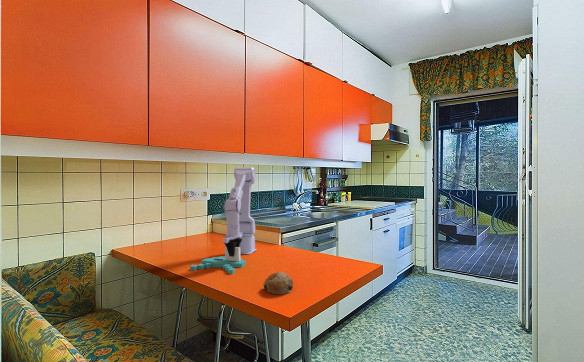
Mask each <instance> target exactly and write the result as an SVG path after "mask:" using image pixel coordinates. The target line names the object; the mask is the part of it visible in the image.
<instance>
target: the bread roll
mask: <svg viewBox="0 0 584 362" xmlns="http://www.w3.org/2000/svg"><path fill="white" fill-rule="evenodd" d="M262 286H263V288H264V290H265V291H266V293H269V294H272V295H285V294H290V293H291V291H292V289H293V288H294V281H293V279H292V277H291V276H290V275H289V274H287V273H286V272H282V271H280V272H279V271H277V272H274V273H271V274H269V276H268V277H266V278H265V279H264V282H263V285H262Z"/></svg>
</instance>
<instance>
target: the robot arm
mask: <svg viewBox="0 0 584 362" xmlns="http://www.w3.org/2000/svg"><path fill="white" fill-rule="evenodd" d="M233 176H234V180H235V183H234V187H231V189H230V192H229V195H228V199H226V200H225V201H224V205H223V207H224V212H225V214H224V215H225V216H226V217H225V218H226V235H225V237H223V238H222V243H223V244H224V245H225V247H227V250H228V253H229V256H231V257H234V254H235V247H240V254H242V255H251V254H252V253H254V252H256V251H257V248H256V237H255V236H254V234H255V233H256V220H255V219H254V218H253V217H252V216H251V196H252V195H251V194H252V192H251V191H252V186H253V184H255V181H256V171H255V168H254V167H253V166H251V167H236V166H235V168H234V169H233Z"/></svg>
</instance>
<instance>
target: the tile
mask: <svg viewBox="0 0 584 362" xmlns="http://www.w3.org/2000/svg"><path fill="white" fill-rule="evenodd" d="M224 256H225V260H228V261H241V259H242V257H241V254H240V247H235V254H234V257H231V256H229V253H228V250H227V247H226V246H225V247H224Z"/></svg>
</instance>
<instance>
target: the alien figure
mask: <svg viewBox="0 0 584 362" xmlns="http://www.w3.org/2000/svg"><path fill="white" fill-rule="evenodd" d="M246 265H247V260H244V259H243V258H241V261H228V260H225V255H224V256H222V255H221V256H217V257H215V256H213V257H210V258H209V257H206V258H203V259H202V260H201V263H199V264H191V265H190V266H189V270H190V271H194V270H195V271H196V269H197V270H203V268H204V269H211V268H212V267H213V268H221V267H223V268H222V269H223V270H224V269H225V270H224V271H225V272H226V271H228V272H227V274H228V273H229V275H234V274H235V273H236V268H243V267H245V266H246ZM210 267H211V268H210Z"/></svg>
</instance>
